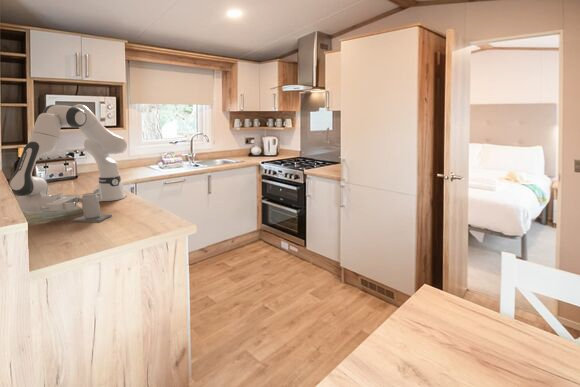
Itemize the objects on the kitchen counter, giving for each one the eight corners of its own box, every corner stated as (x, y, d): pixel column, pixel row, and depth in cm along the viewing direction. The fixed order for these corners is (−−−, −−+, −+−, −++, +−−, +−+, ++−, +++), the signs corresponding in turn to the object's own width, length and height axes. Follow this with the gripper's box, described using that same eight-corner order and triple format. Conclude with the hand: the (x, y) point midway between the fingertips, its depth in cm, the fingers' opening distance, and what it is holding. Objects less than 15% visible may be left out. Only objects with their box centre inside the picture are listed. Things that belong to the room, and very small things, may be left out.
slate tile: (73, 221, 175) (73, 219, 175) (86, 216, 185) (86, 214, 185) (99, 222, 174) (99, 220, 174) (112, 216, 184) (111, 214, 183)
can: (84, 220, 174) (81, 196, 171) (83, 216, 180) (80, 193, 178) (101, 217, 178) (98, 194, 175) (100, 214, 184) (96, 191, 182)
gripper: (37, 202, 165) (68, 201, 166) (61, 192, 185) (89, 192, 186) (39, 215, 167) (70, 214, 168) (63, 204, 187) (90, 203, 188)
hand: (80, 202), depth 177 cm, fingers open, 8 cm apart
